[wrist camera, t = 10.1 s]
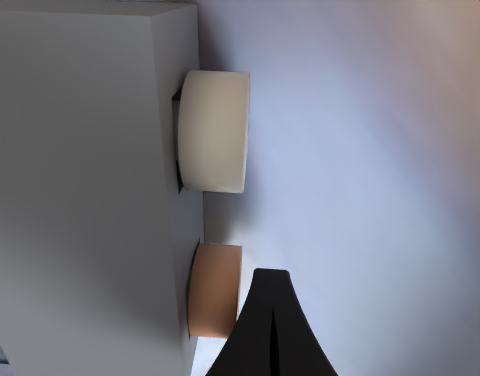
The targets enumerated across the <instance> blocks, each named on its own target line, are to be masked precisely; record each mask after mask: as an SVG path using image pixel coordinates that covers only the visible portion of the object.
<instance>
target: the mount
mask: <svg viewBox="0 0 480 376" xmlns="http://www.w3.org/2000/svg"><path fill="white" fill-rule="evenodd" d="M190 70H199V38H198V4H195V3H167V2H140V1H113V0H0V346H1V348H2V350H3V352H4V354H5V356H6V358H7V360H8V362H9V364H10V366H11V368H12V369H13V371H14V373H15V375H16V376H190V375H191V370H192V365H193V360H194V355H195V350H196V345H197V340H198V336H191V335H190V332H189V323H188V311H187V306H186V292H185V288H186V285H187V281H188V278H189V274H190V270H191V267H192V265H193V264H194V260H195V256H196V252H197V249H198V246H199V245H200V244H201V243H204V244H205V239H204V206H203V191H196V190H186V189H185V187H184V185H183V182H182V179H181V174H180V167H179V160H176V155H175V141H174V127H173V113H172V101H180V100H181V94H182V88H183V84H184V81H185V78H186V75H187V73H188V72H189V71H190Z"/></svg>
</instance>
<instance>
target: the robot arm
mask: <svg viewBox="0 0 480 376" xmlns="http://www.w3.org/2000/svg"><path fill="white" fill-rule="evenodd" d="M0 376H16V375H15V373H14V371H13V369H12V368H11V366H10V364H0ZM205 376H338V375H337V373H336V372H335V370H334V369H333V367H332V365H331V364H330V362H329V361H328V359H327V357H326V355H325V354H324V352H323V350H322V349H321V347H320V345H319V343H318V341H317V339H316V337H315V336H314V334H313V332H312V330H311V328H310V326H309V324H308V322H307V319H306V317H305V315H304V313H303V311H302V309H301V306H300V304H299V301H298V299H297V296H296V294H295V291H294V288H293V285H292V282H291V279H290V275H289V272H288V271H287V270H277V269H263V268H256V269H255V270H254V273H253V279H252V283H251V286H250V290H249V293H248V295H247V298H246V301H245V303H244V306H243V308H242V310H241V313H240V315H239V317H238V319H237V321H236V323H235V326H234V328H233V330H232V332H231V334H230V336H229V337H228V339H227V341H226V343H225V345H224V346H223V348H222V350H221V352H220V353H219V355H218V357H217V358H216V360H215V362H214V363H213V365H212V366H211V368H210V369H209V371H208V372H207V374H206V375H205Z"/></svg>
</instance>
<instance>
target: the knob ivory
mask: <svg viewBox="0 0 480 376" xmlns="http://www.w3.org/2000/svg"><path fill="white" fill-rule="evenodd" d="M249 106H250V73H243V72H221V71H199V70H190V71H189V72H188V73H187V75H186V78H185V81H184V84H183V88H182V94H181V100H180V101H172V113H173V127H174V141H175V155H176V160H179V167H180V174H181V179H182V182H183V185H184V187H185V189H186V190H196V191H212V192H228V193H243V190H244V183H245V172H246V160H247V145H248V128H249Z"/></svg>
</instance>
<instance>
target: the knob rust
mask: <svg viewBox="0 0 480 376" xmlns="http://www.w3.org/2000/svg"><path fill="white" fill-rule="evenodd" d="M241 265H242V246H233V245H219V244H204V243H201V244H200V245H199V246H198V249H197V252H196V256H195V260H194V264H193V265H192V267H191V270H190V274H189V278H188V281H187V285H186V288H185V292H186V306H187V311H188V323H189V332H190V335H191V336H201V337H213V338H225V339H228V337H229V336H230V334H231V332H232V330H233V328H234V326H235V323H236V321H237V319H238V310H239V297H240V283H241Z"/></svg>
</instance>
